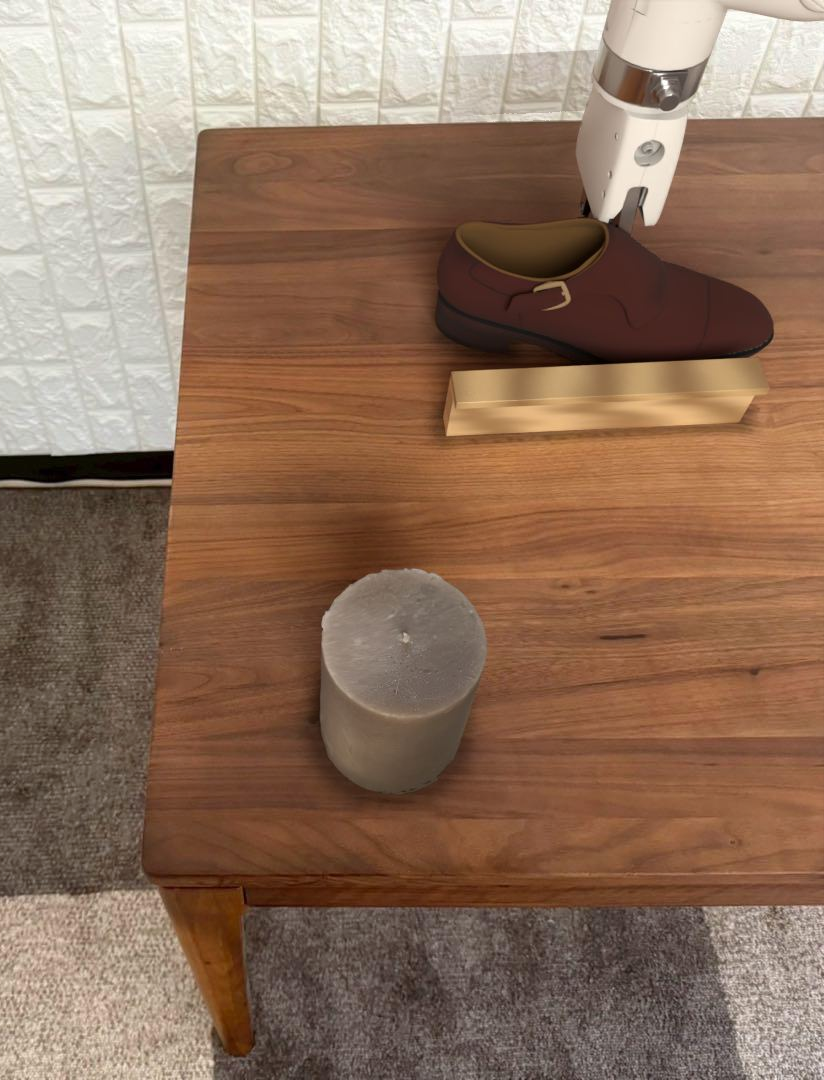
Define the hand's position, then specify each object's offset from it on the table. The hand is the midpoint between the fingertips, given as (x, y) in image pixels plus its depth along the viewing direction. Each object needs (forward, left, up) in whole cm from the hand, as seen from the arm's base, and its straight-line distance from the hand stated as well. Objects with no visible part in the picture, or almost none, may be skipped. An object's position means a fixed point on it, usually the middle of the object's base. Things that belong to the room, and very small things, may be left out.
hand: (587, 258), depth 87 cm
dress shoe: (0, +6, -3) cm, 7 cm away
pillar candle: (+21, +40, -4) cm, 45 cm away
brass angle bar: (+2, +15, -4) cm, 15 cm away
